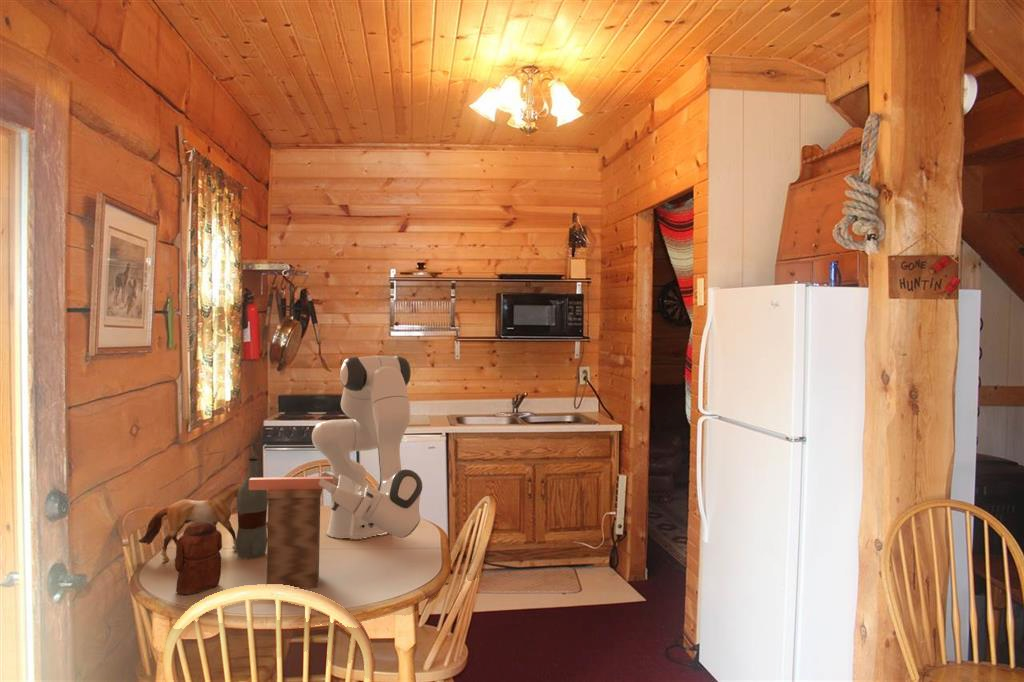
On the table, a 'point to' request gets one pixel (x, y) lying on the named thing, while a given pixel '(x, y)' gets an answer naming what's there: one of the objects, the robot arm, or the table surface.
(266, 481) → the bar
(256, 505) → the bottle
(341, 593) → the table surface
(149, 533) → the horse figurine
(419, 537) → the table surface
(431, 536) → the table surface
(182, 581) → the wooden figurine
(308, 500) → the stand
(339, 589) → the table surface
